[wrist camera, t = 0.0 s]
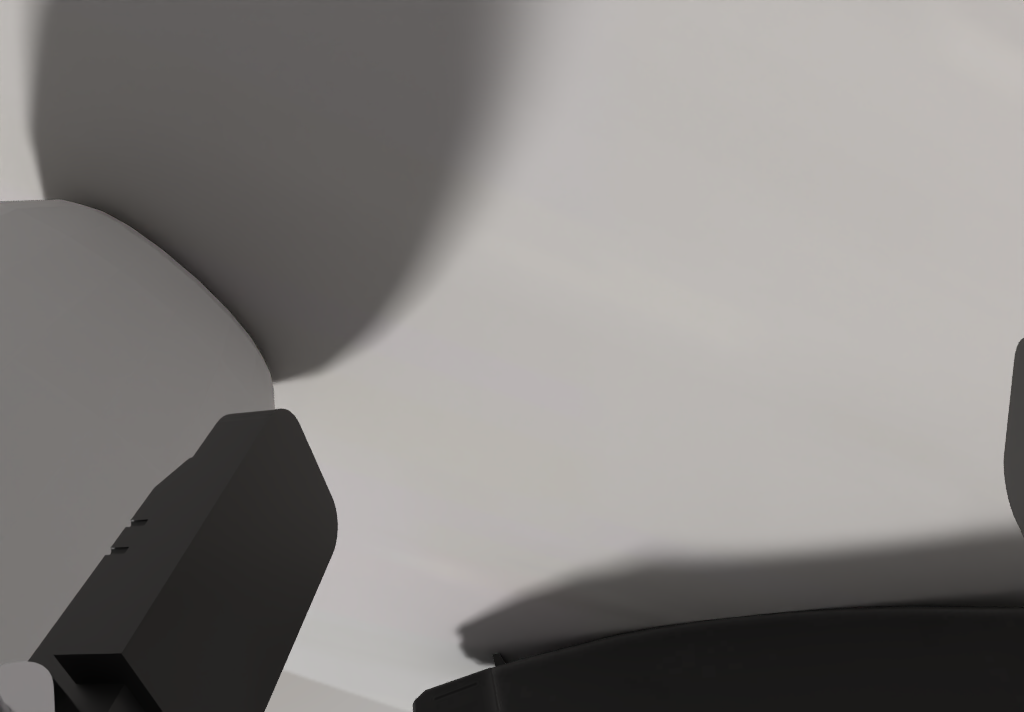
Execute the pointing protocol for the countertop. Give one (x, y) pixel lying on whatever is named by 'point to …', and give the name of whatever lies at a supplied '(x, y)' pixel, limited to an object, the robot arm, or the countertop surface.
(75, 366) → the soap bottle
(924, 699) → the magazine
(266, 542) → the robot arm
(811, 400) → the countertop surface
